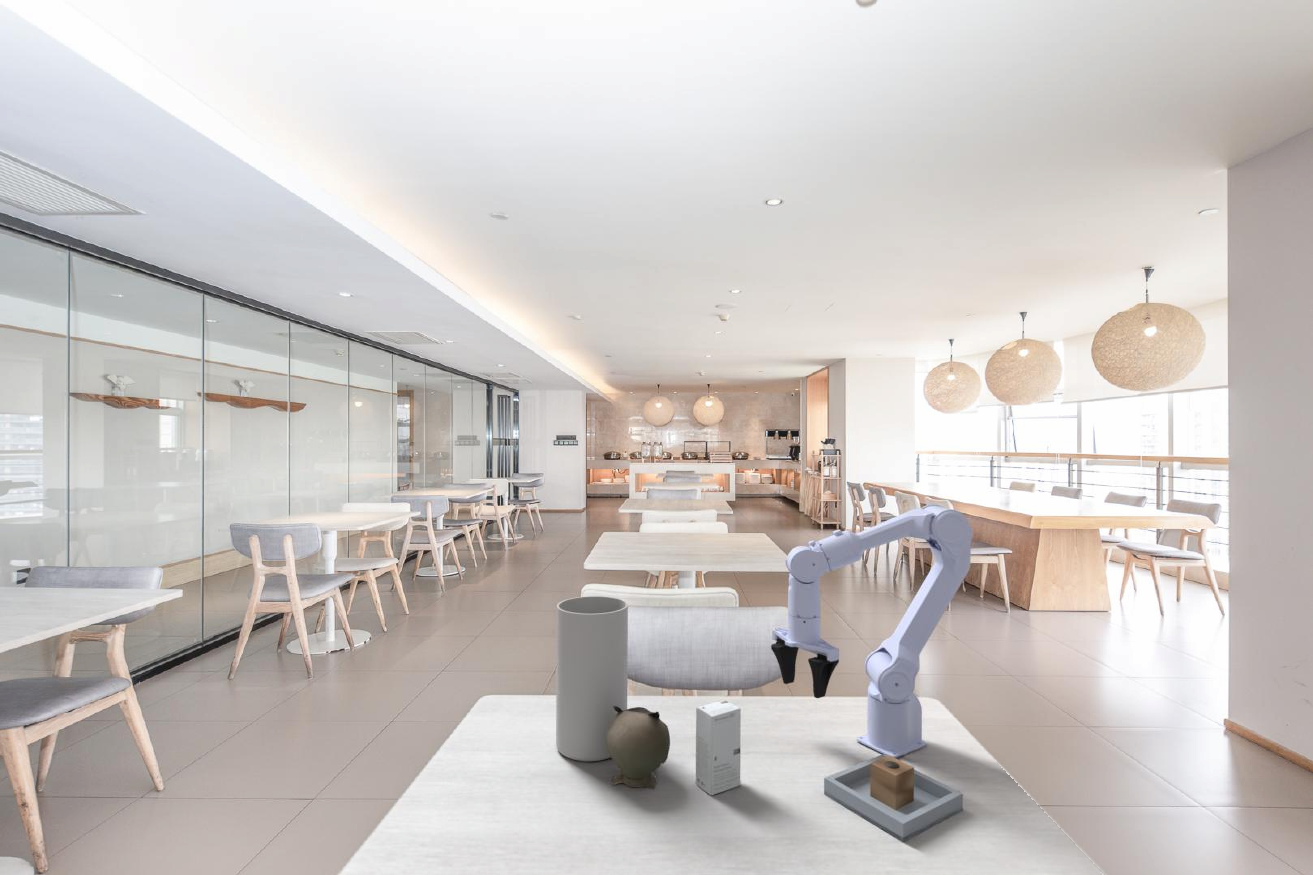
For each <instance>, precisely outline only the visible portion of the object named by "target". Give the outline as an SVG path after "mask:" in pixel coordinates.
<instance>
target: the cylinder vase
mask: <svg viewBox="0 0 1313 875" xmlns="http://www.w3.org/2000/svg"><path fill="white" fill-rule="evenodd" d="M628 616H629V603H628V602H627V601H626V600H624V599H621V598H618V597H612V596H604V595H603V596H602V595H600V596H599V595H596V596H595V595H590V596H589V595H588V596H577V597H571V598H568V599H564V600H562V601H559V602H558V603H557V604H556V688H555V689H556V692H555V693H556V695H555V697H556V698H555V699H556V700H555V702H556V703H555V705H556V706H555V710H556V712H555V719H556V722H555V746H556V749H557V750H558V752H560V754H561V755H562V756H564V757H566V758H568V759H570V760H574V761H580V762H599V761H604V760H607V759H612V758H611V756H610V754H609V753H608V751H607V747H606V741H605V739H606V733H607V729H608V727H609V724H610V722H611V721H612V719H613V718H614V717H615V716H616V714H617V713H618V712H617V711H615V710H614V708H613V707H614V706H617V707H619V708H620V709H621V710H627V709H628V659H629V658H628V652H629V651H628V649H629V648H628V645H629V643H628V642H629V640H628V638H629V635H628V633H629V632H628V631H629V630H628V629H629V626H628V625H629V624H628V623H629V622H628V621H629V617H628Z"/></svg>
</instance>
